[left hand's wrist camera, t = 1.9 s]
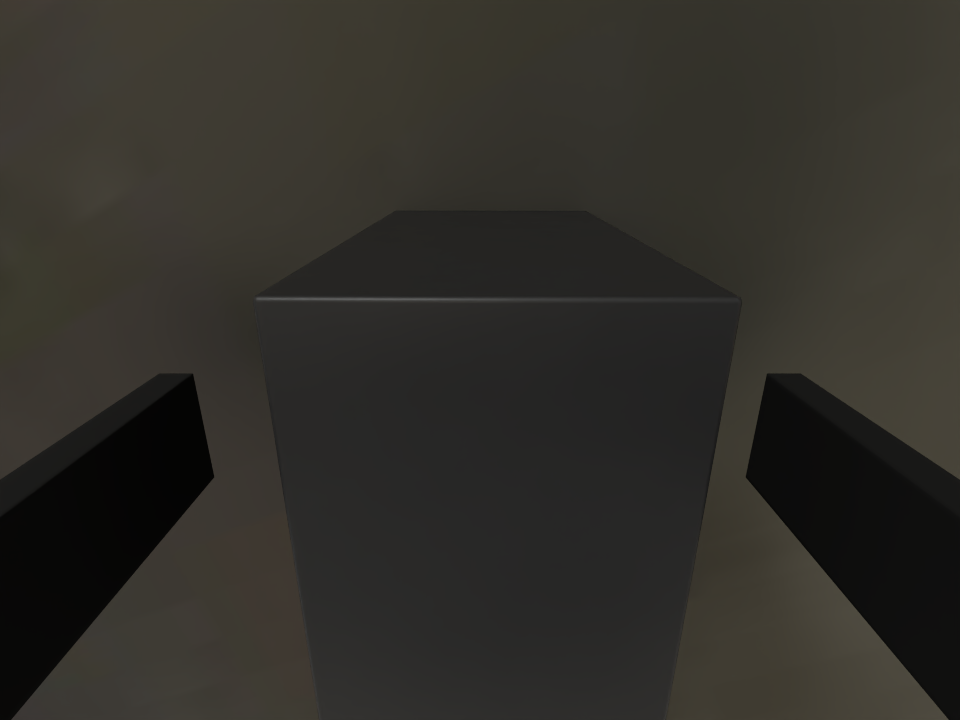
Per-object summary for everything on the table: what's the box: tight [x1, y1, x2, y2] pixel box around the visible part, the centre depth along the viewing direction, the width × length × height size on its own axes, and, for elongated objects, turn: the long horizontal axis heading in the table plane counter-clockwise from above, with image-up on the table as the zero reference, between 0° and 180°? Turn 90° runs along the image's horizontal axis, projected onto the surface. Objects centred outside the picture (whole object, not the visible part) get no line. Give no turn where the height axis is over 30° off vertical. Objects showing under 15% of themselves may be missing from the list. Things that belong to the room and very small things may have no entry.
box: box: [253, 211, 742, 720], centre depth 17 cm, size 29×6×11 cm, turn 0°
